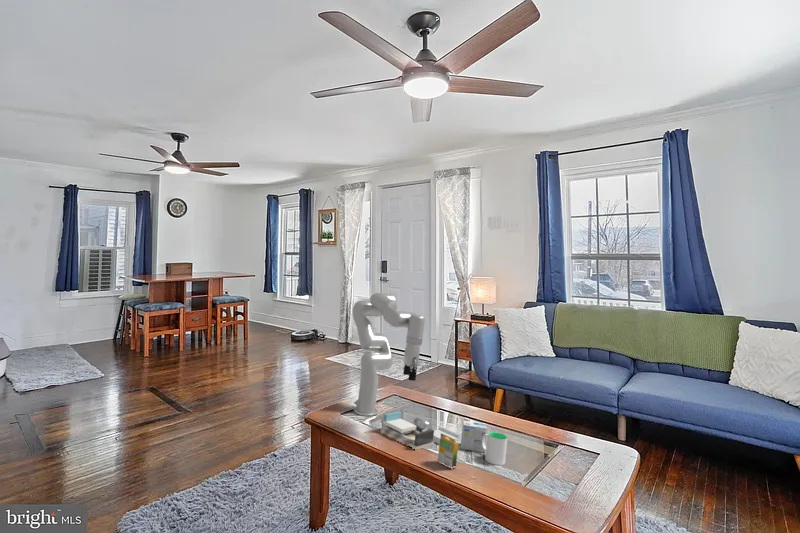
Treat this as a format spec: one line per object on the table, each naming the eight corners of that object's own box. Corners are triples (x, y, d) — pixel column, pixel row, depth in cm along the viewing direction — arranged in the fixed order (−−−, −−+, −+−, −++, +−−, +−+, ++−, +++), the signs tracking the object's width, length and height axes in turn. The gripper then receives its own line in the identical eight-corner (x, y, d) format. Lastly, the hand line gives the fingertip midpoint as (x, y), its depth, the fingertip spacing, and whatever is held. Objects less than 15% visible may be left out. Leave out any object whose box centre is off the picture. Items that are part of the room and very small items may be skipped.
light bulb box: (483, 447, 179) (486, 423, 180) (485, 453, 172) (488, 428, 173) (460, 443, 180) (462, 419, 181) (460, 449, 174) (463, 424, 174)
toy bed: (382, 428, 183) (384, 414, 183) (397, 424, 189) (399, 411, 190) (401, 437, 174) (402, 422, 174) (415, 433, 181) (417, 419, 181)
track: (380, 432, 182) (382, 418, 182) (398, 428, 190) (400, 414, 190) (415, 450, 166) (417, 434, 166) (433, 445, 174) (435, 430, 175)
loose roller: (412, 427, 194) (413, 418, 194) (418, 425, 197) (419, 417, 197) (424, 433, 188) (425, 423, 189) (430, 431, 191) (431, 422, 192)
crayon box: (456, 468, 154) (459, 438, 154) (451, 470, 152) (454, 439, 152) (442, 461, 159) (445, 431, 160) (437, 462, 157) (440, 433, 158)
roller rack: (421, 435, 184) (422, 430, 184) (440, 430, 193) (440, 425, 193) (441, 445, 175) (442, 439, 175) (459, 439, 185) (460, 434, 185)
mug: (474, 454, 170) (476, 429, 170) (486, 451, 174) (489, 427, 175) (496, 466, 160) (499, 440, 160) (508, 463, 165) (511, 437, 165)
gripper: (402, 337, 193) (397, 372, 192) (411, 343, 176) (406, 382, 176) (416, 338, 195) (411, 373, 194) (427, 345, 178) (422, 383, 177)
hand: (409, 377), depth 185 cm, fingers open, 9 cm apart
